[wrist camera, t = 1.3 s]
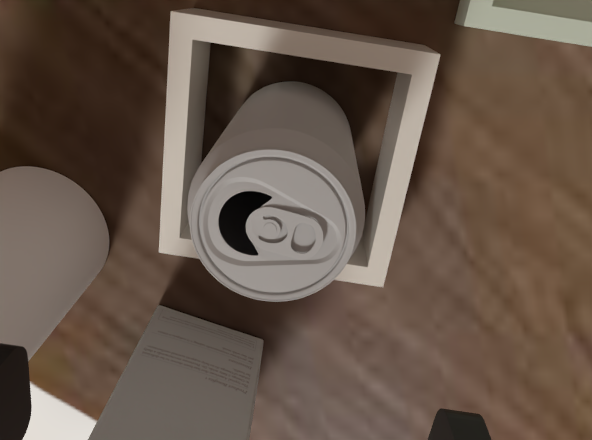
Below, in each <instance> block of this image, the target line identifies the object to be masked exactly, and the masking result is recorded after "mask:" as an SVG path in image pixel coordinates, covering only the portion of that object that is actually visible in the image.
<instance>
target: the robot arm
mask: <svg viewBox="0 0 592 440" xmlns="http://www.w3.org/2000/svg"><path fill="white" fill-rule="evenodd" d="M30 416H31V395H30V380H29V367H28V355H27V351H26V349H25V348H24V347H22V346H16V345H10V344H3V343H0V440H22V439H23V437H24V435H25V433H26V430H27V428H28V424H29V421H30ZM428 440H491V437H490V435H489V432H488V429H487V427H486V424H485V422H484V419H483V418H482V416H481V415H480V414H476V413H469V412H462V411H455V410H448V409H440V410H439V411H438V412H437V414H436V416H435V419H434V422H433V425H432V428H431V431H430V434H429V437H428Z"/></svg>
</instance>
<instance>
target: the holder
mask: <svg viewBox="0 0 592 440" xmlns="http://www.w3.org/2000/svg"><path fill="white" fill-rule="evenodd" d="M211 43H217V44H224V45H230V46H236V47H242V48H249V49H255V50H261V51H267V52H274V53H280V54H286V55H293V56H299V57H305V58H311V59H318V60H324V61H330V62H336V63H343V64H349V65H355V66H361V67H368V68H374V69H380V70H386V71H393V72H397V77H396V82H395V86H394V91H393V95H392V100H391V104H390V109H389V114H388V118H387V123H386V127H385V132H384V136H383V141H382V146H381V150H380V155H379V159H378V164H377V168H376V173H375V178H374V182H373V187H372V191H371V196H370V200H369V205H368V210H367V214H366V219H365V223H364V228H363V233H362V237H361V239H360V242H359V244H358V246H357V248H356V250H355V252H354V253H353V255H352V256H351V258H350V259H349V261H348V263H347V264H346V266H345V267H344V269H343V270H342V271H341V273H340V274H339V275H338V276H337V277H336V278H335V279H334V280H340V281H346V282H352V283H359V284H365V285H372V286H378V287H383V285H384V281H385V277H386V273H387V269H388V265H389V261H390V257H391V253H392V249H393V245H394V241H395V237H396V233H397V229H398V225H399V221H400V217H401V213H402V209H403V205H404V201H405V197H406V193H407V188H408V184H409V180H410V176H411V172H412V168H413V164H414V160H415V156H416V152H417V148H418V144H419V140H420V136H421V132H422V128H423V124H424V120H425V116H426V112H427V108H428V104H429V100H430V96H431V92H432V87H433V83H434V79H435V75H436V71H437V67H438V63H439V59H440V55H441V54H439V53H437V52H435V51H434V50H432V49H430V48H428V47H427V46H425V45H421V44H415V43H409V42H403V41H396V40H390V39H384V38H378V37H372V36H365V35H359V34H353V33H347V32H340V31H334V30H328V29H322V28H315V27H309V26H303V25H297V24H291V23H284V22H278V21H272V20H266V19H259V18H253V17H247V16H241V15H234V14H228V13H222V12H216V11H210V10H203V9H197V8H189V9H182V10H175V11H171V14H170V35H169V55H168V76H167V96H166V117H165V137H164V157H163V178H162V198H161V219H160V239H159V253H165V254H172V255H178V256H185V257H191V258H197V259H199V257H198V255H197V253H196V251H195V248H194V245H193V242H192V238H191V233H190V226H189V221H188V212H187V205H188V194H189V190H190V186H191V183H192V180H193V178H194V176H195V173H196V172H197V170H198V168H199V166H200V165H201V159H202V147H203V134H204V122H205V109H206V96H207V84H208V71H209V58H210V46H211Z"/></svg>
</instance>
